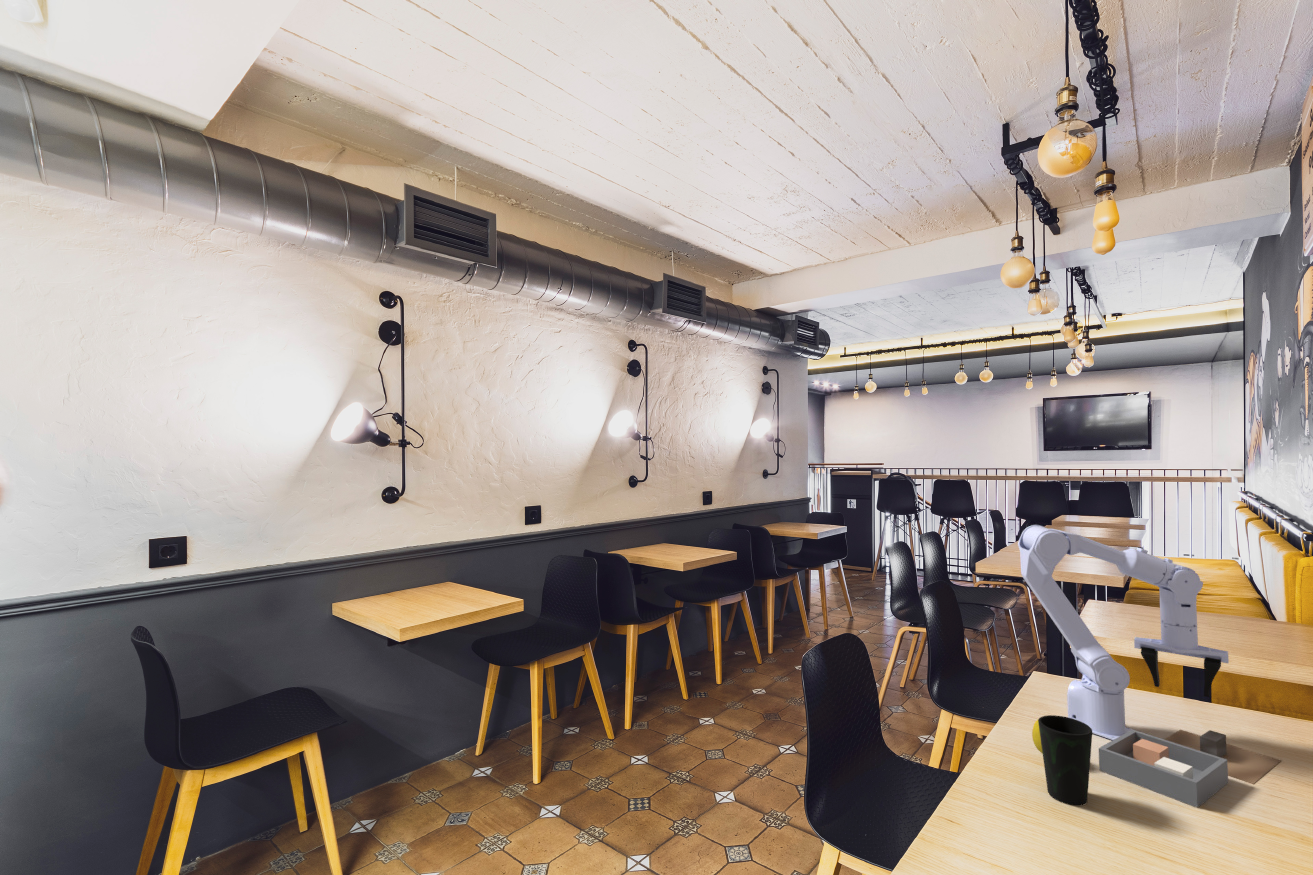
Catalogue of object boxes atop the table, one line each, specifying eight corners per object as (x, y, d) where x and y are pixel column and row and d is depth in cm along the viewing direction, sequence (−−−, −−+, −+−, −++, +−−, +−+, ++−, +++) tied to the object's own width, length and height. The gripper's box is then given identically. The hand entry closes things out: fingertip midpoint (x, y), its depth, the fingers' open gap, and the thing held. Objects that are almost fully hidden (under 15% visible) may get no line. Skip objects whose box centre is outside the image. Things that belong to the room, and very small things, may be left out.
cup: (1085, 787, 105) (1083, 718, 105) (1102, 812, 98) (1099, 737, 98) (1035, 780, 107) (1032, 712, 108) (1047, 804, 100) (1045, 731, 100)
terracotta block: (1133, 760, 112) (1132, 744, 112) (1142, 754, 114) (1142, 738, 114) (1160, 769, 109) (1159, 752, 109) (1169, 763, 111) (1168, 747, 111)
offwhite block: (1155, 780, 105) (1154, 762, 106) (1164, 773, 108) (1163, 756, 108) (1183, 790, 102) (1183, 772, 102) (1193, 783, 104) (1192, 766, 104)
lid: (1149, 752, 118) (1148, 730, 118) (1180, 733, 126) (1179, 712, 126) (1253, 788, 105) (1252, 763, 105) (1281, 764, 113) (1280, 741, 113)
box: (1099, 770, 111) (1098, 748, 111) (1133, 750, 118) (1132, 729, 118) (1197, 807, 99) (1196, 782, 99) (1228, 782, 106) (1227, 759, 106)
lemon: (1073, 767, 112) (1071, 723, 112) (1040, 764, 113) (1038, 721, 113) (1059, 752, 117) (1058, 711, 117) (1028, 750, 118) (1026, 709, 118)
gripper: (1131, 620, 126) (1134, 686, 125) (1227, 634, 116) (1230, 705, 115) (1135, 614, 131) (1137, 677, 131) (1227, 626, 121) (1230, 694, 120)
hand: (1181, 690), depth 123 cm, fingers open, 7 cm apart
